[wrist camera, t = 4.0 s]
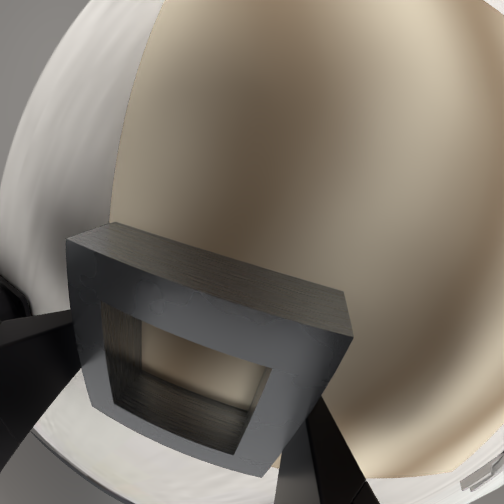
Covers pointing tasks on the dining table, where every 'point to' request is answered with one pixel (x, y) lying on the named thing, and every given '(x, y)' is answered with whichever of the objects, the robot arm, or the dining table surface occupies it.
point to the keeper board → (338, 199)
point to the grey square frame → (201, 341)
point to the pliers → (484, 474)
